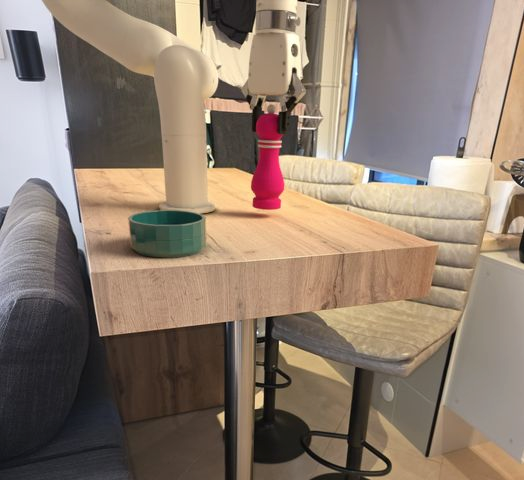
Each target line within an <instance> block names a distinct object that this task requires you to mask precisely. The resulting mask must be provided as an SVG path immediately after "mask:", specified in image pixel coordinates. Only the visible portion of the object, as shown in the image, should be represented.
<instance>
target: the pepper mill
mask: <svg viewBox="0 0 524 480" xmlns="http://www.w3.org/2000/svg"><path fill="white" fill-rule="evenodd" d="M276 111H277V108H276V106H275V105H274V104H272V103H271V104H269V105H268V106H267V107H266V112H267V113H264V114H263V115H261V116H260V117H259V119H258V120H257V123H256V132H255V133H256V134H257V135H258V137H259V139H257V142H258V143H257V147H258V148H259V154H258V162H257V165H256V168H255V170H254V172H253V175H252V178H251V181H250V190H251V191H252V193H253V194H254V197H253V198H252V208H254V209H258V210H264V211H265V210H266V211H273V210H279V209H281V208H282V199H281V198H279V197H281V195H282V194H283V193H284V190H285V179H284V176H283V172H282V169H281V166H280V149H281V148H282V142H283V141H282V140H281V138H282V137H283V136H284V134H278V132H277V131H278V113H276Z"/></svg>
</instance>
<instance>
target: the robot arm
mask: <svg viewBox="0 0 524 480" xmlns="http://www.w3.org/2000/svg"><path fill="white" fill-rule="evenodd" d="M41 1H42V3H43V5H44V6H45V8H46V9H47V10H48V12H49V13H50V14H51V15H52V16H53V17H54V19H56V20H57V21H58V23H59V24H61V25H62V26H63V27H64V28H65V29H66V30H68V31H70V32H71V33H72V34H74V35H75V36H77V37H78V38H79V39H81V40H82V41H85V42H86V43H88V44H90V45H91V46H93V47H94V48H96V50H98V51H100V52H102V53H103V54H105V55H106V56H108V57H110V58H111V59H113V60H114V61H115V62H117V63H119V64H121V65H122V66H123V67H124V68H126V69H127V70H129V71H131V72H133V73H137V74H140V75H145V76H150V77H153V83H154V88H155V93H156V98H157V104H158V110H159V119H160V135H161V144H162V145H161V146H162V160H163V161H162V163H163V174H164V175H163V176H164V177H163V178H164V192H165V201H162V202H160V203H159V207H158V208H159V210H179V211H189V212H195V213H199V214H202V215H203V214H208V213H211V212H214V211H215V209H216V205H215V203H214V202H212V201H209V191H208V190H209V189H208V186H209V185H208V146H207V144H208V143H207V124H206V123H207V121H206V120H207V119H206V113H205V112H206V111H205V106H204V102H205V101H206V100H208V99H210V98H211V97H213V95H214V94H215V93H216V91H217V89H218V85H219V73H218V69H217V66H216V64H215V63H214V61H213V60H212V58H211V57H210V56H209V55H207V54H206V53H204V52H203V51H202V50H199V49H198V48H196V47H195V46H193V45H191V44H190V43H188V42H186V41H185V40H183V39H181V38H180V37H179V36H177V35H175V34H173V33H172V32H170V31H168V30H167V29H165V28H163V27H161V26H159V25H157V24H154V23H151V22H149V21H146V20H144V19H140V18H138V17H135V16H132V15H130V14H129V13H127V12H125V11H123V10H122V9H120V8H119V7H117V6H115V5H113V4H111V3H110V2H109V1H108V0H41ZM255 3H256V4H255V31H254V34H252V35H253V36H252V40H251V46H250V52H249V58H248V59H249V60H248V74H247V80H246V81H245V82H244V84H243V85H242V87H241V88H240V89H241V90H240V91H241V93H242V94H243V96H244V98H245V100H246V102H247V104H248V106H249V109H250V111H251V132H253V133H257V132H256V123H257V120H258V119H259V117H260V116H261V115H263V114H265V110H263V108H264V104H265V102H266V98H267V96H272V97H278V101H279V106H280V109H281V111H280V110H279V111H278V113H277V115H278V131H277V132H278V134H283V135H289V134H290V129H291V121H292V120H291V119H292V113H293V112H294V111H295V108H296V107H297V106H298V104H299V103H300V100H301V99H302V98H303V97H304V96H305V95H306V93H307V89H306V87H305V85H304V84H303V83H302V81H301V76H302V75H301V74H302V73H301V70H302V61H301V59H302V58H301V44H300V36H299V35H298V34H296V30H297V27H299V26H300V25H301V18H300V16H297V13H298V12H297V11H298V0H256V1H255Z"/></svg>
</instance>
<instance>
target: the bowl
mask: <svg viewBox="0 0 524 480" xmlns="http://www.w3.org/2000/svg"><path fill="white" fill-rule="evenodd" d="M127 224H128V233H129V243H130V247H131V249H132V250H134V251H135V252H136V253H138V254H139V255H141V256H147V257H152V258H162V259H163V258H164V259H165V258H166V259H167V258H169V259H172V258H182V257H190V256H193V255H196V254H199V253H201V252H202V251H203V250H204V249H205V248H206V247H207V244H208V241H207V239H208V238H207V217H206V216H205V215H204V214H203V213H202V214H199V213H195V212H189V211H179V210H160V209H159V210H148V211H141V212H136V213H133V214H130V215H129V216H128V217H127Z"/></svg>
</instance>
